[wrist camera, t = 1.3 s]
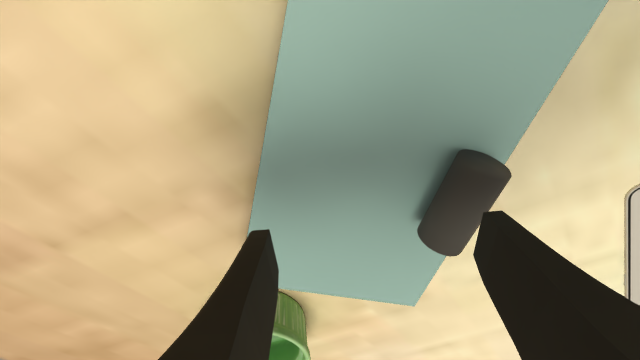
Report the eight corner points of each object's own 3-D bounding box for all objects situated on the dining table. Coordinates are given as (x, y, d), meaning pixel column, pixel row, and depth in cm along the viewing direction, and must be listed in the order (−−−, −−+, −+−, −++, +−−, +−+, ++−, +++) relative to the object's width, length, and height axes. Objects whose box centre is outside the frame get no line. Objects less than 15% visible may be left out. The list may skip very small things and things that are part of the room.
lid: (601, -8, 15) (666, 6, 12) (412, 299, 26) (424, 340, 23) (305, -99, 13) (304, -106, 10) (240, 276, 24) (232, 318, 21)
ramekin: (327, 325, 33) (330, 373, 29) (247, 352, 35) (240, 400, 32) (275, 268, 28) (271, 317, 25) (186, 303, 31) (170, 353, 27)
